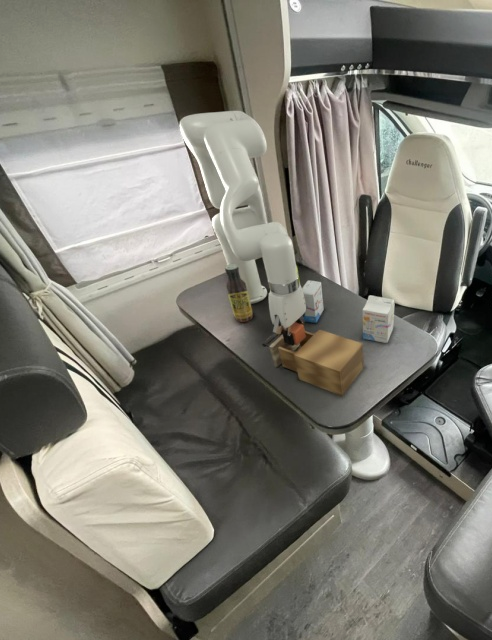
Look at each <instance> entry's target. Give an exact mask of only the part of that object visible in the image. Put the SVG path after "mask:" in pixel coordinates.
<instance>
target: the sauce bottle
mask: <svg viewBox="0 0 492 640" xmlns="http://www.w3.org/2000/svg"><path fill="white" fill-rule="evenodd" d="M224 270H225V273H226V276H227V283H226V286H225V287H226V290H227V295H228V299H229V303H230V306H231V311H232V313H233V316H234V319H235V321H236V322H239V323H246V322H249V321H252V319H253V316H254V314H253V308H252V304H250V299H249V295H248V291H247V288H246V283H245V282H244V281H243V280H242V279H241V278H240V275H239V268H238V265H236V264H228V265H227V264H226V265H225V266H224Z"/></svg>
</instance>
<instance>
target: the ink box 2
mask: <svg viewBox="0 0 492 640" xmlns="http://www.w3.org/2000/svg"><path fill="white" fill-rule="evenodd" d="M395 303H396V301H395V299H392V298H389V297H382V296H376V295H371V294H370V295H368V297H367V301H366V302H365V304H364V306H363V308H362V339H363V340H368V341H373V342H379V343H384V344H388V342H389V340H390V337H391V335H392V333H393V330H394V323H395V322H394V321H395Z"/></svg>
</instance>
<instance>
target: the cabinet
mask: <svg viewBox="0 0 492 640" xmlns="http://www.w3.org/2000/svg"><path fill="white" fill-rule="evenodd" d="M313 334H314V335H313V336H312V337H311V338H310V339H309V340H308V341H307V342H306V343H305V344H304V345H303V346H302V347H301V348H300V349H299V350H298V351H297V352H296V353H295V354H294V358H295V363H296V367H297V372H296V373H297V376H298V380H300V381H302V382H305V383H307V384H310V385H312V386H315V387H318V388H320V389H323V390H325V391H327V392H331V393H333V394H336V395H338V396H341V397H343V396H344V395H345V393H346V392H347V391H348V389H349V388H350V386H351V385H352V384H353V383H354V381H355V380H356V378H357V377H358V376H359V374H361V371H363V370H364V348H363V347H364V346H363V345H364V343H362V342H358V341H356V340H353V339H349V338H346V337H343V336H341V335H337V334H334V333H331V332H329V331H325V330H323V329H318V330H317V331H316V332H315V333H313Z"/></svg>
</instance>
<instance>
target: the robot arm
mask: <svg viewBox="0 0 492 640" xmlns="http://www.w3.org/2000/svg"><path fill="white" fill-rule="evenodd" d="M179 131H180V133H181V137H182V139H183V141H184V143H185V145H186V146H187V147H188V149H189V150H190V152H191V153H192V154H193V156H194V158H195V160H196V161H197V163H198V166H199V169H200V172H201V176H202V179H203V182H204V186H205V190H206V193H207V196H208V199H209V201H210V204H211V205H212V206H213V207H214V208H215V209H218V210H219V212H218V213H216V214H215V215H214V216H213V217H212V218H211V226H212V229H213V233H214V234H215V237H216V238H217V240H218V242H219V244H220V247H221V250H222V253H223V256H224V259H225V262H226V265H228V264H236V265H238V268H239V275H240V278H241V279H242V280H243V281H244V282H245V283H246V288H247V291H248V295H249V299H250V304H251V305H254V304H257V303H260V302H261V301H263V300H264V299H266V297H267V296H268V310H269V315H270V320H271V323H272V325H273V328H272V334H273V333H275V334H283V338H284V342H285V343H286V344H289V345H292V346H294V344H295V343H294V339H293V334H291V325H292V324H293V323H294V322H296V323H299V324H302V325H304V326H305V320H304V316H305V312H306V309H307V307H308V305H307V304H305V298H304V294H303V291H302V288H303V287H302V286H301V282H300V283H299V281H300V278H299V279H298V275H299V271H298V272H297V269H298V267H297V268H296V265H297V263H296V256H295V250H294V245H293V241H292V239H291V237H290V236H289V233H288V231H287V229H286V227H285V226H284V225H283V224H281V222H278V221H270V222H268V218H267V213H266V207H265V204H264V203H265V202H264V196H263V191H262V188H261V185H260V180H259V177H258V175H257V173H256V170H255V168H254V166H253V164H252V162H251V159H255V158H261V157H263V156H265V155H266V154H267V150H268V146H267V145H268V143H267V139H266V136H265V133H264V131H263V129H262V127H261V126H260V125H259V123H258V122H257V120H255V119H254V118H253V117H251V116H250V115H249V114H247V113H245V112H244V111H241V110H226V111H215V112H202V113H193V114H189V115H186V116H184V117H182V118H181V119H180V121H179ZM260 258H262V262H263V265H264V269H265V275H266V278H267V283H268V288H269V292H268V289H267V288H266V287H265V286H264V285H262V283H261V279H260V275H259V271H258V266H257V264H256V260H257V259H260ZM284 328H286V330H284Z"/></svg>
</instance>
